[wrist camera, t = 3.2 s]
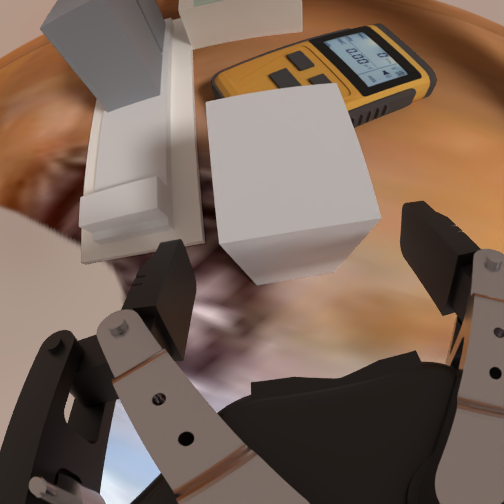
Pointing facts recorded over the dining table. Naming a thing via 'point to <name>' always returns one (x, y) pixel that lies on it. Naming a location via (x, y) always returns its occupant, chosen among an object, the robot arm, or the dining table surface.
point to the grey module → (288, 181)
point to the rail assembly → (133, 125)
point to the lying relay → (238, 19)
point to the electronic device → (339, 71)
